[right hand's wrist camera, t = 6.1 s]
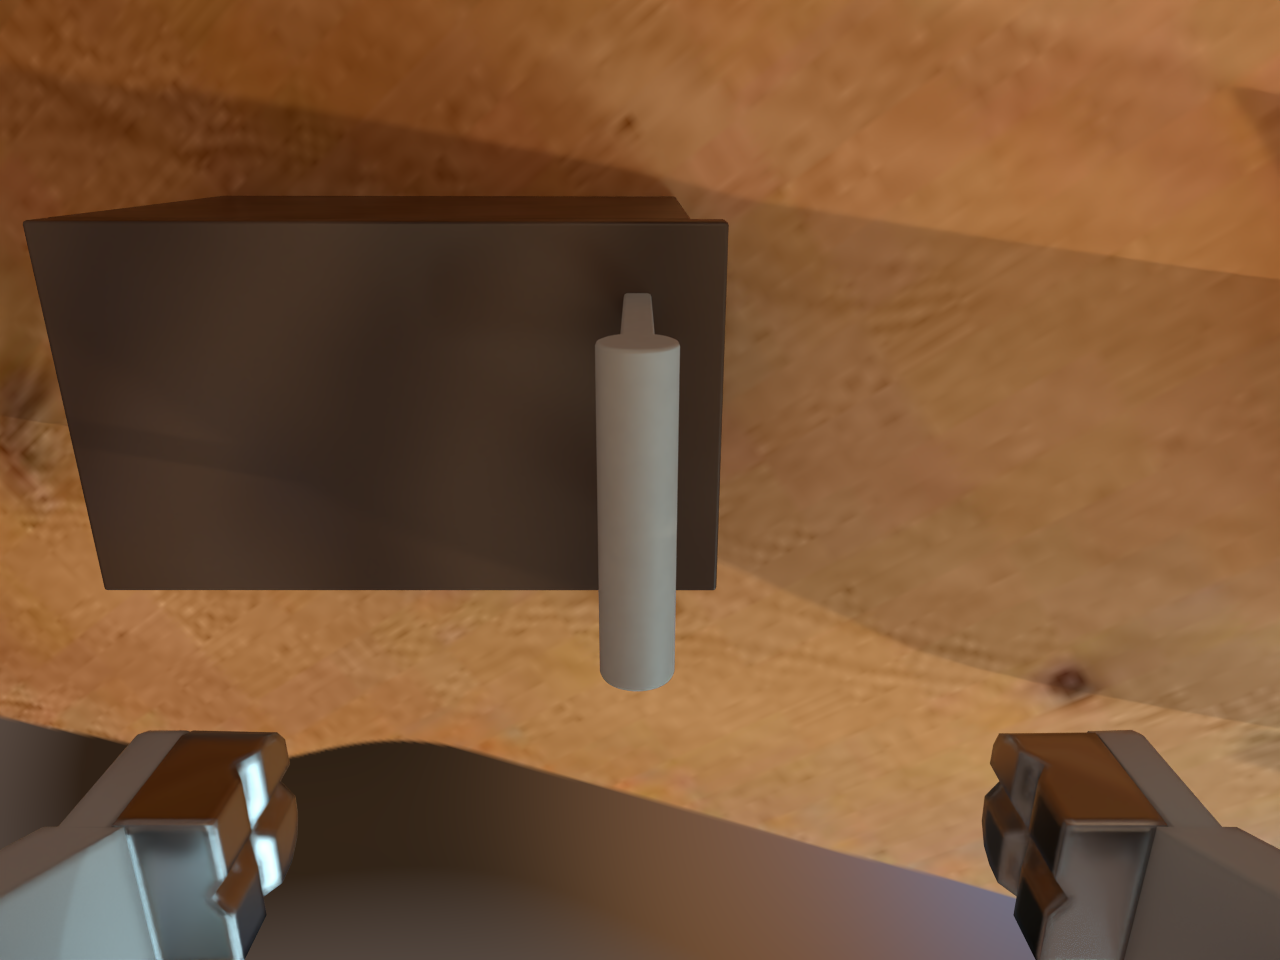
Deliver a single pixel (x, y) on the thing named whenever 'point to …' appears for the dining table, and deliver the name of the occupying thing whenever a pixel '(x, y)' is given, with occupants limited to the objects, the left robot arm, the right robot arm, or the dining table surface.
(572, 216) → the chest
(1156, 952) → the right robot arm
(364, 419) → the lid
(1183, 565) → the dining table surface
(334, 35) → the dining table surface
